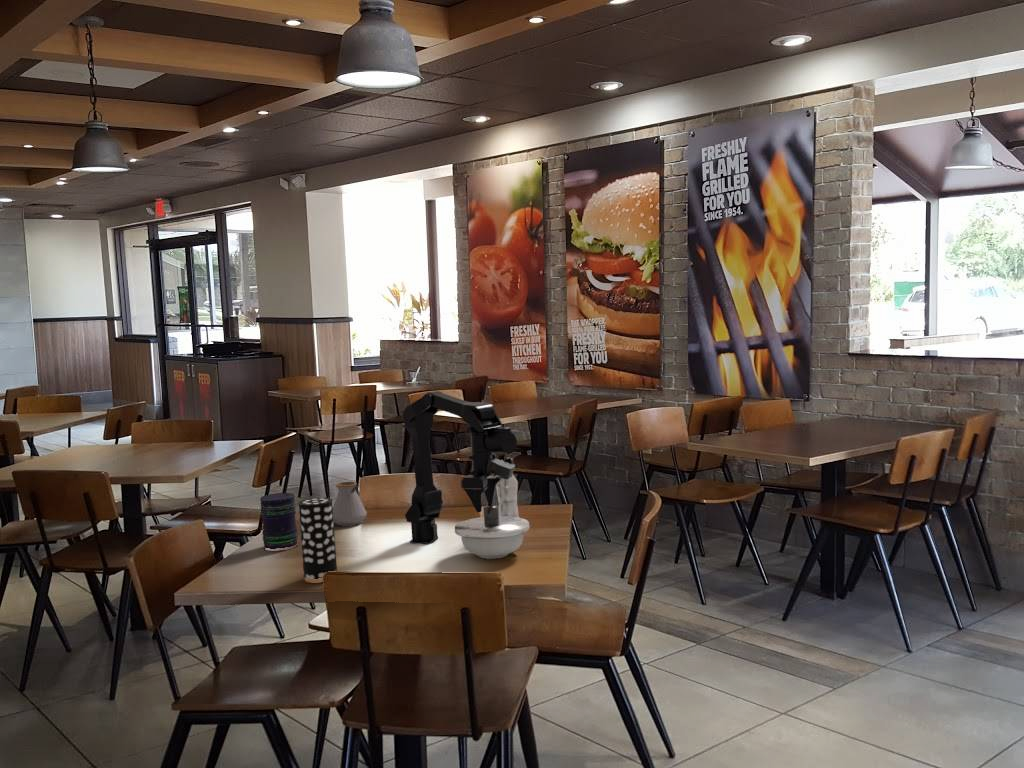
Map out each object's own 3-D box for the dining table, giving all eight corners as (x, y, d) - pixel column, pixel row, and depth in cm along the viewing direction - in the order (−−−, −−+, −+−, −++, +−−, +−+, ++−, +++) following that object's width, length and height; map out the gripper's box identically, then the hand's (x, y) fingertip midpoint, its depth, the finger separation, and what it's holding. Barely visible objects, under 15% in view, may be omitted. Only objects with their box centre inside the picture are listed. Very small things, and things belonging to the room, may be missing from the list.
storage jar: (269, 553, 259) (265, 501, 257) (259, 546, 267) (255, 496, 266) (303, 547, 264) (299, 496, 263) (292, 540, 272) (288, 491, 271)
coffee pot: (327, 522, 294) (324, 476, 292) (362, 517, 298) (359, 472, 297) (342, 536, 274) (339, 487, 273) (379, 531, 279) (376, 482, 277)
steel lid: (443, 537, 239) (442, 514, 238) (470, 519, 258) (468, 497, 257) (516, 540, 233) (515, 516, 232) (538, 521, 252) (537, 499, 251)
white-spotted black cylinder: (305, 585, 227) (299, 506, 225) (303, 576, 235) (297, 499, 233) (339, 581, 229) (333, 502, 228) (335, 572, 237) (330, 496, 236)
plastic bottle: (518, 535, 265) (515, 467, 263) (495, 535, 266) (492, 467, 265) (522, 529, 271) (519, 463, 269) (500, 529, 273) (497, 463, 271)
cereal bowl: (504, 566, 235) (503, 539, 234) (450, 560, 243) (448, 534, 242) (535, 549, 249) (534, 524, 249) (483, 544, 258) (482, 519, 257)
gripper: (499, 457, 233) (502, 517, 234) (521, 445, 250) (523, 500, 252) (458, 456, 236) (461, 516, 238) (483, 444, 254) (485, 499, 255)
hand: (484, 508), depth 246 cm, fingers open, 9 cm apart
